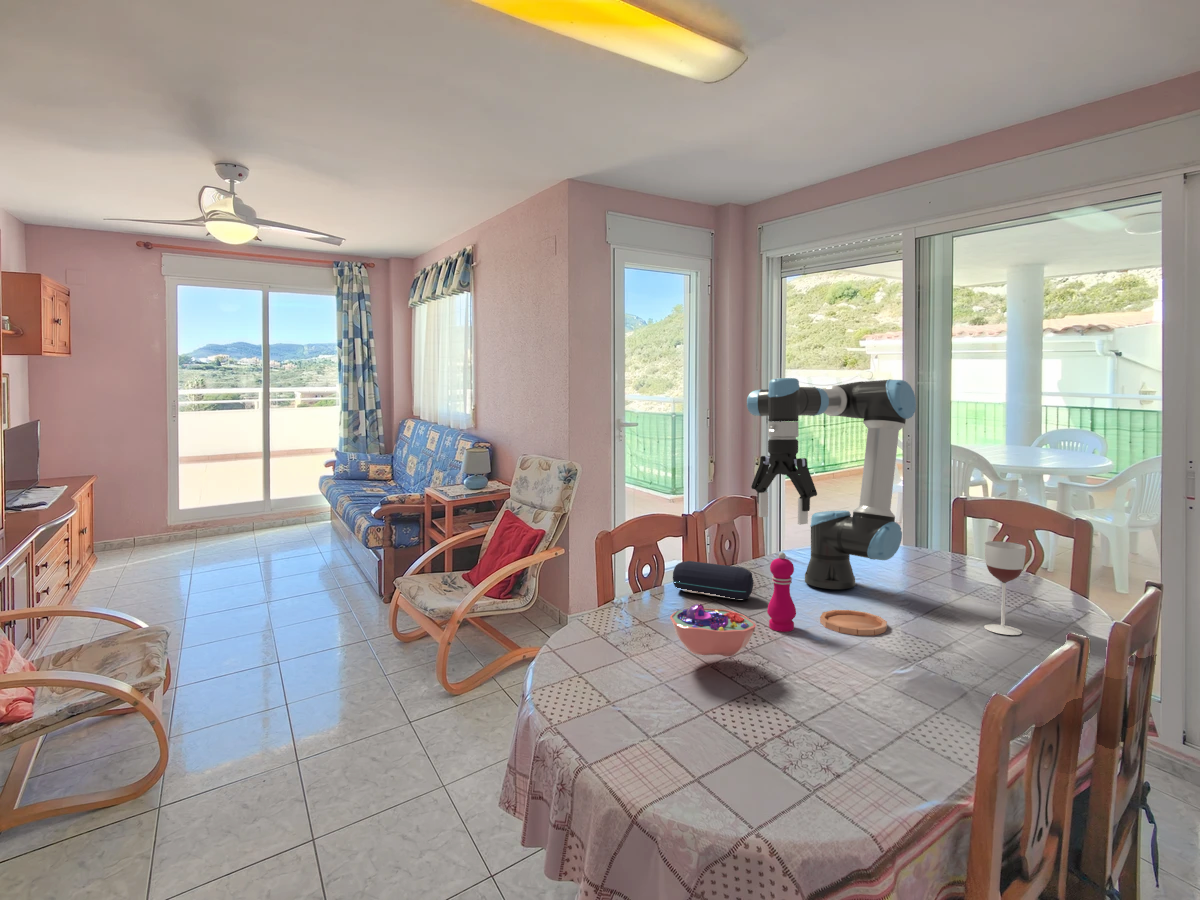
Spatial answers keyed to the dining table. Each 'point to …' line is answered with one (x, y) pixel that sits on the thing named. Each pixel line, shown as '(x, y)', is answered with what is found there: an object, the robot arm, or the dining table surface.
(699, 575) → the portable speaker
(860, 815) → the dining table surface
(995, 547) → the wineglass
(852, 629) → the terracotta saucer
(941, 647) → the dining table surface
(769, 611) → the pepper mill
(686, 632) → the cell model
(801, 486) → the robot arm
